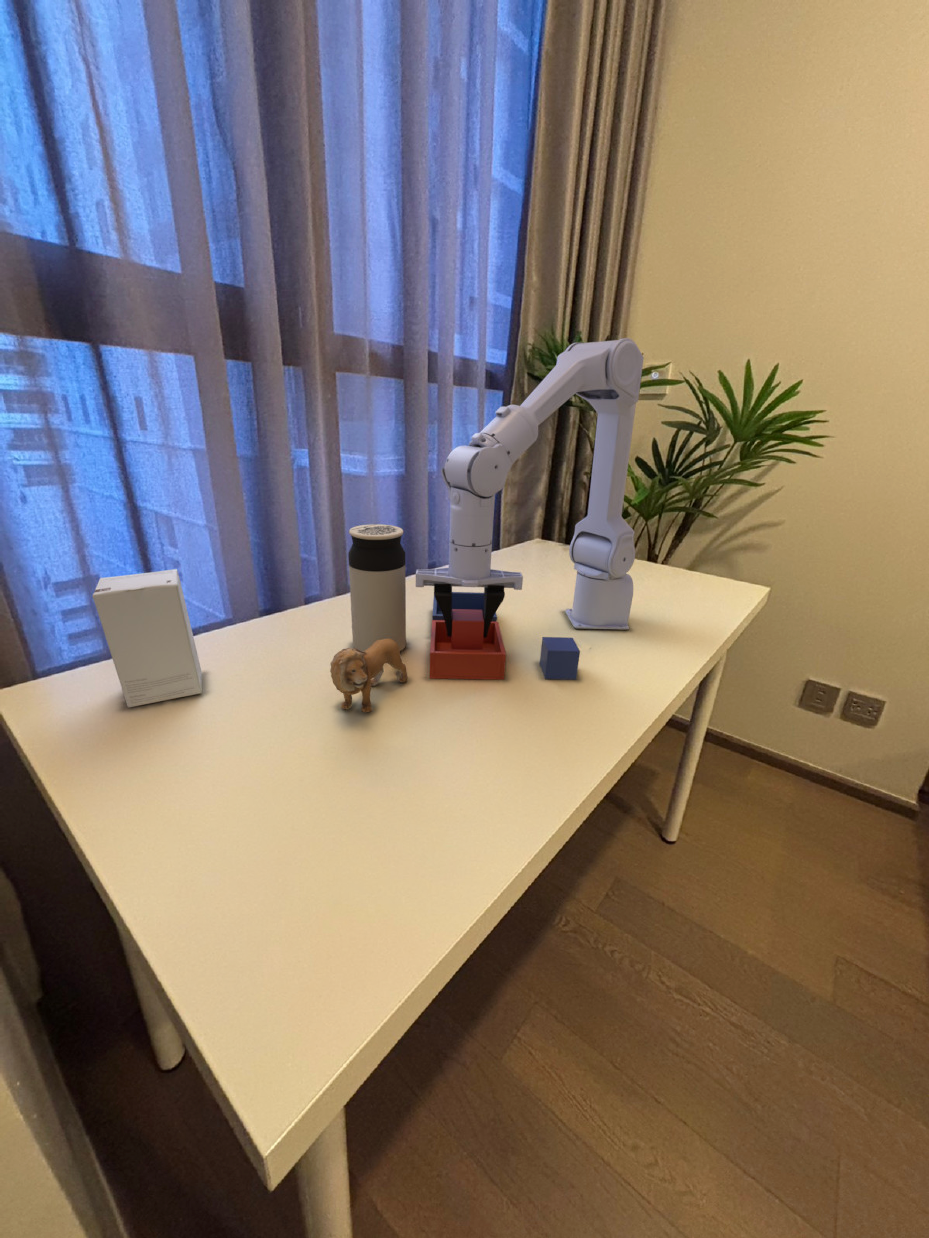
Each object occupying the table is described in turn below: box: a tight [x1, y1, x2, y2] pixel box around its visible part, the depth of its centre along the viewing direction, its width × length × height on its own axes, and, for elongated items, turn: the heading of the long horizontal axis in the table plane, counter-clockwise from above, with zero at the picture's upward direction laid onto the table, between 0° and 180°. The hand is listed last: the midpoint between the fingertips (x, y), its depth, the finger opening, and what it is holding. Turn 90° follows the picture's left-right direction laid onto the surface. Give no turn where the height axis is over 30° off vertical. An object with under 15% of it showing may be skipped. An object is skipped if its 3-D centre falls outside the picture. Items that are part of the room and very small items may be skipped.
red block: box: [451, 609, 484, 650], centre depth 72 cm, size 4×4×4 cm
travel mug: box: [347, 523, 407, 652], centre depth 74 cm, size 8×8×18 cm
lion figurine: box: [329, 639, 408, 713], centre depth 62 cm, size 15×5×9 cm, turn 162°
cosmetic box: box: [92, 568, 203, 708], centre depth 60 cm, size 8×6×15 cm
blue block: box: [539, 636, 581, 680], centre depth 71 cm, size 4×4×4 cm
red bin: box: [429, 619, 507, 681], centre depth 73 cm, size 10×11×4 cm
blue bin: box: [431, 591, 498, 622], centre depth 85 cm, size 10×11×4 cm
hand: (466, 634), depth 72 cm, fingers closed on red block, 4 cm apart
